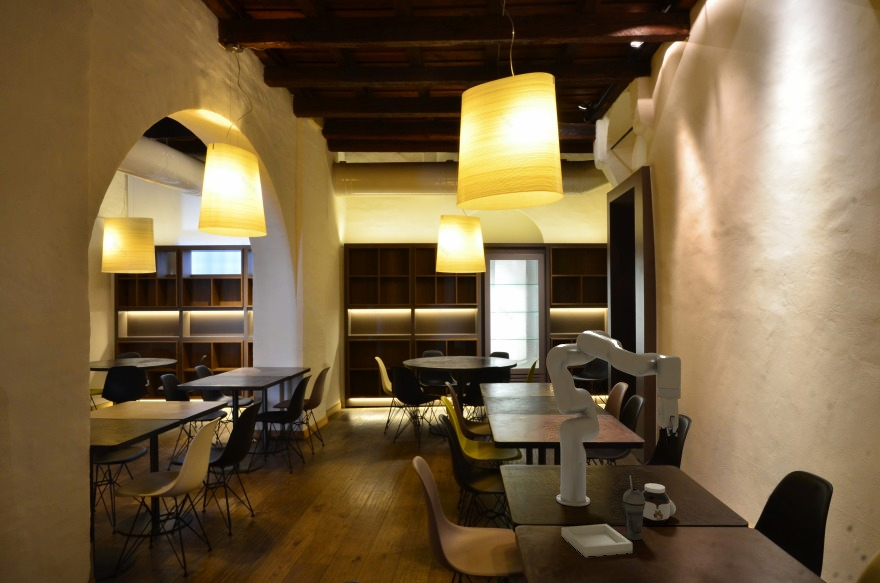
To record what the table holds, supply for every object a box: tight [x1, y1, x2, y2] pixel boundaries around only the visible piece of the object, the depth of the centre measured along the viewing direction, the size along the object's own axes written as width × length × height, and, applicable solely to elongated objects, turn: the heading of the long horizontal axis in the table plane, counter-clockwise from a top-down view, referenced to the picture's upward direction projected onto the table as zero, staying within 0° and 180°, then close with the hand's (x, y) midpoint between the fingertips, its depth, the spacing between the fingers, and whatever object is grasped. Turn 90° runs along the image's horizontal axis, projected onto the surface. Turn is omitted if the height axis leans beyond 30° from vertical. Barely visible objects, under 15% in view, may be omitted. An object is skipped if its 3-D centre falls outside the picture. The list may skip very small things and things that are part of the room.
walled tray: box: [561, 523, 634, 558], centre depth 188 cm, size 16×16×3 cm
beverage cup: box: [621, 474, 645, 541], centre depth 194 cm, size 7×7×20 cm
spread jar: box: [641, 482, 677, 524], centre depth 212 cm, size 12×11×12 cm
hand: (667, 444), depth 198 cm, fingers open, 9 cm apart
